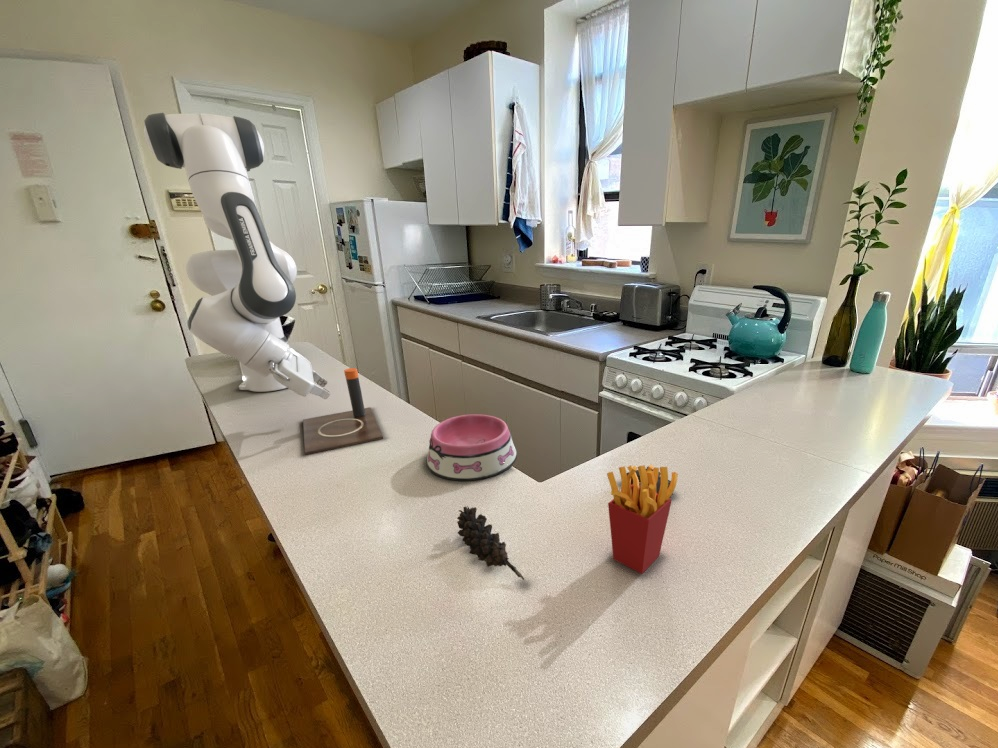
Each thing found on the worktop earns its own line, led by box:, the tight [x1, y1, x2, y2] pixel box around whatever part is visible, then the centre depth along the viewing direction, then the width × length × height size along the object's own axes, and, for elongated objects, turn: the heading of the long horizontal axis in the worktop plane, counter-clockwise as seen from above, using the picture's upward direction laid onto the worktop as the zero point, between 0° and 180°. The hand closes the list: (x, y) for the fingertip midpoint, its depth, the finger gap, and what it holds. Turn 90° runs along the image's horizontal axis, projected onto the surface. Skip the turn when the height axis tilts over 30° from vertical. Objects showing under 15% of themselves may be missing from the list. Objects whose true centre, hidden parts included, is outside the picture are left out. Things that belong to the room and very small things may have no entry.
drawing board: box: [302, 406, 384, 456], centre depth 110 cm, size 20×16×1 cm
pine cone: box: [456, 505, 525, 581], centre depth 67 cm, size 18×5×5 cm, turn 34°
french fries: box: [606, 464, 678, 575], centre depth 66 cm, size 9×8×15 cm
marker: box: [343, 367, 365, 417], centre depth 115 cm, size 3×3×12 cm
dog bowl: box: [426, 413, 518, 482], centre depth 95 cm, size 18×19×7 cm
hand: (327, 389), depth 112 cm, fingers open, 8 cm apart
